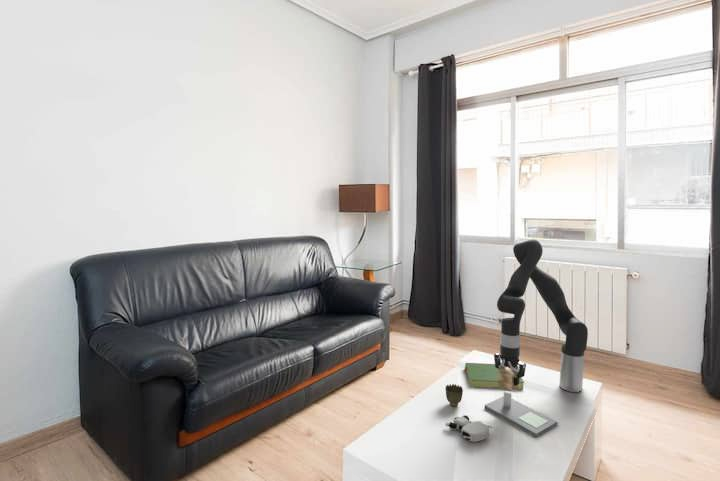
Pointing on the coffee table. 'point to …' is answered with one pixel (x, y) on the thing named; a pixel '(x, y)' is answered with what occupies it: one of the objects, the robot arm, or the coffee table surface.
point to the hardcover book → (484, 375)
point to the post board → (521, 415)
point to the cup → (454, 394)
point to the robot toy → (470, 428)
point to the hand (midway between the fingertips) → (508, 382)
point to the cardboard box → (507, 379)
